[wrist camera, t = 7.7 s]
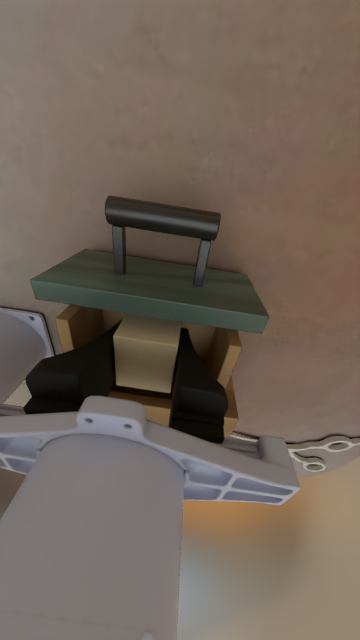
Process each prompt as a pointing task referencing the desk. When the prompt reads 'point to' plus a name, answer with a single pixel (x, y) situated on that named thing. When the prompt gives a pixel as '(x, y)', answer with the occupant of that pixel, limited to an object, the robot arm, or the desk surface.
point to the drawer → (155, 289)
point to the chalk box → (146, 352)
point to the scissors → (321, 444)
